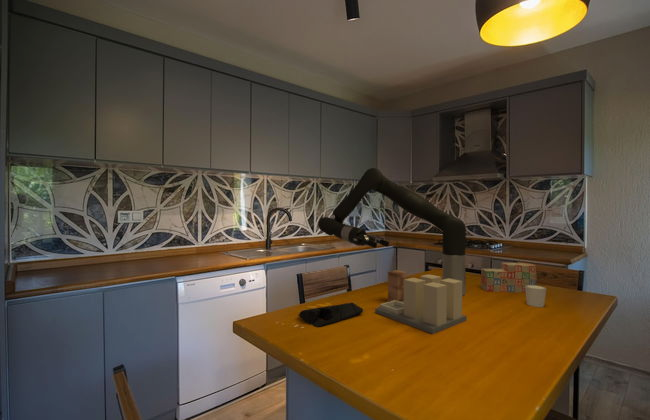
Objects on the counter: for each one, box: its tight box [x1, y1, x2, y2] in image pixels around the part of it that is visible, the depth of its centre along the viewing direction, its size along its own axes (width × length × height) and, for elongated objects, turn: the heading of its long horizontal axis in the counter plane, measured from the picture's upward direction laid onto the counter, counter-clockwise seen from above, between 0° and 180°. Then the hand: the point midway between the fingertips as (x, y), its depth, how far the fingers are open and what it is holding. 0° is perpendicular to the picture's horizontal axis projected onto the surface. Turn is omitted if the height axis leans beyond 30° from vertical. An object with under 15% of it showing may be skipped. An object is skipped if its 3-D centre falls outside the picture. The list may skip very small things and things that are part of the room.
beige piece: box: [525, 284, 547, 308], centre depth 125 cm, size 7×7×7 cm
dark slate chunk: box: [297, 302, 364, 328], centre depth 113 cm, size 15×22×5 cm
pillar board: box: [374, 274, 467, 335], centre depth 112 cm, size 19×24×14 cm
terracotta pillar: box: [387, 269, 407, 302], centre depth 129 cm, size 5×5×12 cm
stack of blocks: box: [480, 262, 538, 293], centre depth 146 cm, size 21×6×12 cm, turn 84°
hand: (382, 244), depth 133 cm, fingers open, 8 cm apart
